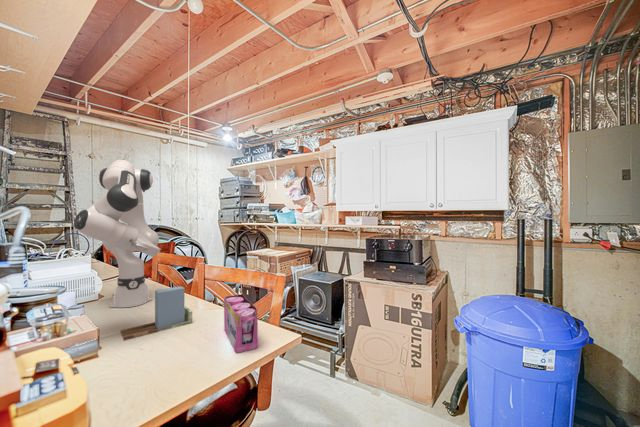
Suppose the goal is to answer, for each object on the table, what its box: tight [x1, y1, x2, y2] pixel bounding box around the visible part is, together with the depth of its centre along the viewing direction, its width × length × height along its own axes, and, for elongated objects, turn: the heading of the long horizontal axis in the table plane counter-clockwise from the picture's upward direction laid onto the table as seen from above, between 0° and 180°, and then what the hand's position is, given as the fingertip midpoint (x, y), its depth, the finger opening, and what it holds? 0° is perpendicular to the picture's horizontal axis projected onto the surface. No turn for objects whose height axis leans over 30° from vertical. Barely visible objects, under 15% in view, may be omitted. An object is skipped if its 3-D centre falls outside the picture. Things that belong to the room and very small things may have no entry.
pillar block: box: [154, 285, 185, 330], centre depth 115 cm, size 5×10×15 cm, turn 132°
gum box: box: [223, 293, 259, 354], centre depth 104 cm, size 24×8×14 cm, turn 29°
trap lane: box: [120, 305, 193, 341], centre depth 112 cm, size 9×24×6 cm, turn 132°
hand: (158, 249), depth 115 cm, fingers closed
